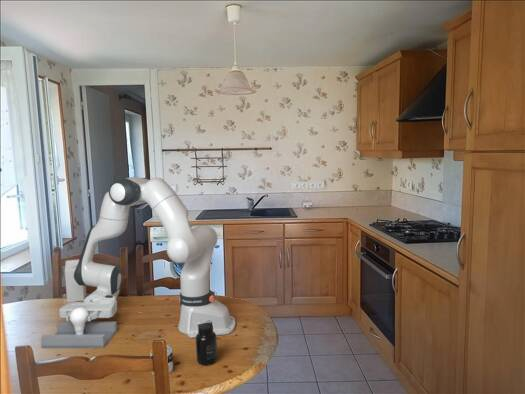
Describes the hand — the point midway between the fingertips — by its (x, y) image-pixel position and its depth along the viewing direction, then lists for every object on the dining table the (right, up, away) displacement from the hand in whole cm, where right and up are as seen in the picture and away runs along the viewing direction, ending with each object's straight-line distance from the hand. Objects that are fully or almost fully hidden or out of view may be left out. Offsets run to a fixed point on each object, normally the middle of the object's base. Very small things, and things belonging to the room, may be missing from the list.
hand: (78, 319), depth 135 cm
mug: (+36, -10, -16) cm, 41 cm away
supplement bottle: (+49, -9, -13) cm, 51 cm away
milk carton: (-20, -4, +40) cm, 45 cm away
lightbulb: (0, -7, +2) cm, 7 cm away
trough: (0, -8, +2) cm, 8 cm away
